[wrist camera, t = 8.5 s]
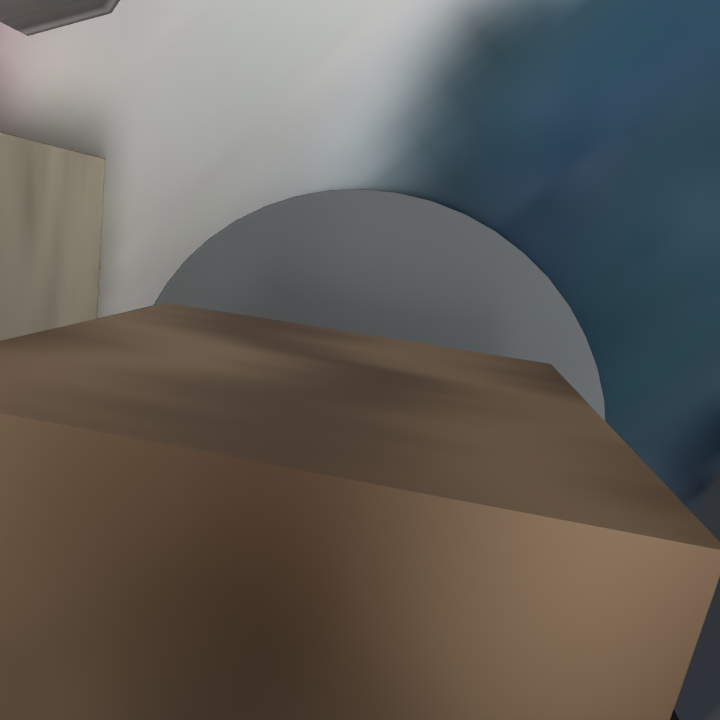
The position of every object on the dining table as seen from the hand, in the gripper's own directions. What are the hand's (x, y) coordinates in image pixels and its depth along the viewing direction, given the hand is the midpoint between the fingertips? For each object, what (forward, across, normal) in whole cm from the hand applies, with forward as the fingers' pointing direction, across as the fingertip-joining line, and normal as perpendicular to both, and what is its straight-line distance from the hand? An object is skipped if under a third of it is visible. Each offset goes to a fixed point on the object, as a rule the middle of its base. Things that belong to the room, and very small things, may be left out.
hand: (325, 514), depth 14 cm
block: (0, 0, 0) cm, 0 cm away
